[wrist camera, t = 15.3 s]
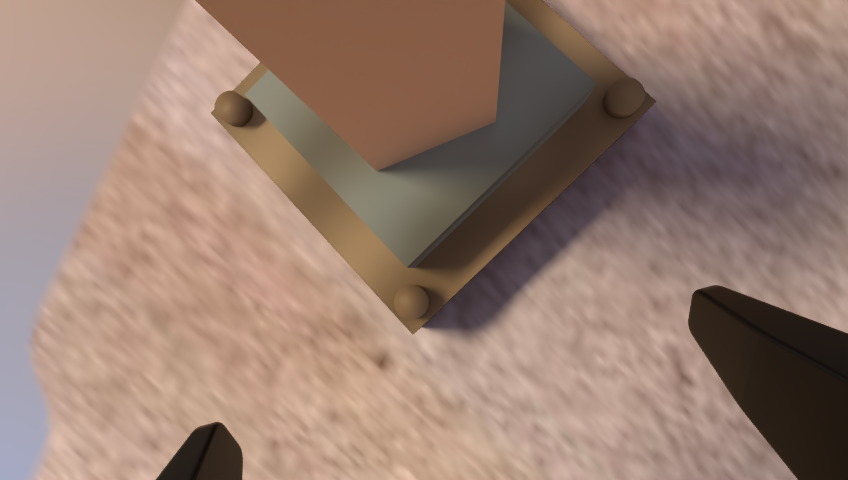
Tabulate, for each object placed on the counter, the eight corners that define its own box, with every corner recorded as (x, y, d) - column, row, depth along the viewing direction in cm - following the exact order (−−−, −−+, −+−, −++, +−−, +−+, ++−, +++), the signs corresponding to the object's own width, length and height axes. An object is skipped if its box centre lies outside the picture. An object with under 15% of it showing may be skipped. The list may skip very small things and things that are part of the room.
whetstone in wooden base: (635, 121, 21) (677, 80, 16) (420, 327, 21) (404, 341, 17) (430, -64, 23) (417, -145, 18) (239, 129, 23) (182, 96, 19)
